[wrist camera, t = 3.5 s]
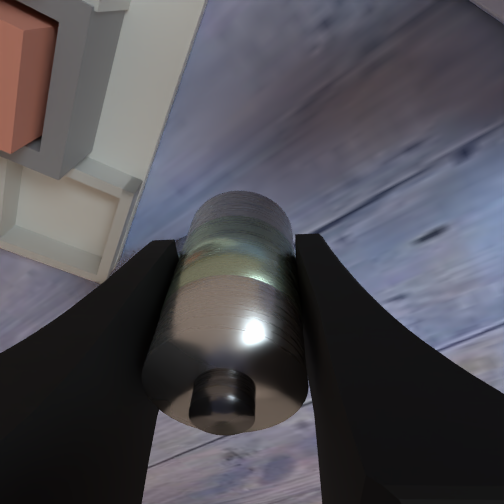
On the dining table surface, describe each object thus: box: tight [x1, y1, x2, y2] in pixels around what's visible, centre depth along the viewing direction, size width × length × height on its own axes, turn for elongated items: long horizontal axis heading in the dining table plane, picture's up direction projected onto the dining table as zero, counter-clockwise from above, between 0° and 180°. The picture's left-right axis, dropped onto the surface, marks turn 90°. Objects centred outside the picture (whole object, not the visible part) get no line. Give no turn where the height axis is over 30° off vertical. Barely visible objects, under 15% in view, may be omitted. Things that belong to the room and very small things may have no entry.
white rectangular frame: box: [0, 0, 208, 284], centre depth 13 cm, size 11×18×4 cm, turn 154°
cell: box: [142, 191, 308, 435], centre depth 9 cm, size 3×3×6 cm
